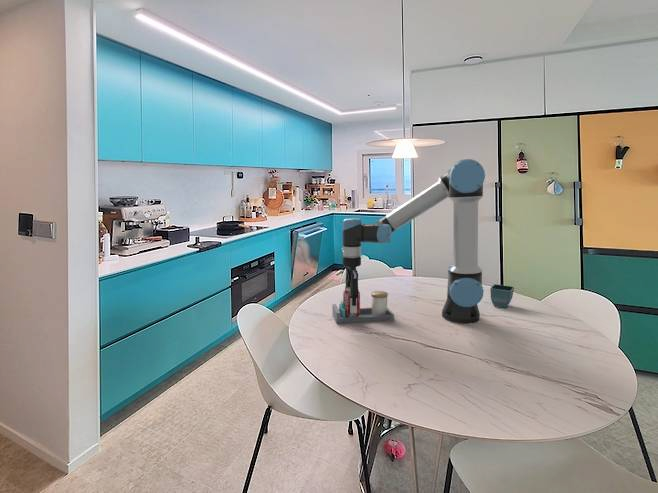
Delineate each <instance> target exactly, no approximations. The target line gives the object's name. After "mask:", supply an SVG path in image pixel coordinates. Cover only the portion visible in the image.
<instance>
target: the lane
mask: <svg viewBox="0 0 658 493" xmlns="http://www.w3.org/2000/svg"><path fill="white" fill-rule="evenodd" d="M331 309H332V310H331V311H332V316H333V318H334V321H335V324H337V325H339V324H352V323H353V324H355V323H370V322H372V323H373V322H387V321H395V314H394V313H393V312H392V311H391V310H390V308H389V307H388V306H387V315H379V316H372V307H360V315H359V316H358V317H346V316H345V318H341V317H340V311H339V306H337V303H332V308H331Z"/></svg>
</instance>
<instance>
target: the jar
mask: <svg viewBox="0 0 658 493" xmlns="http://www.w3.org/2000/svg"><path fill="white" fill-rule="evenodd" d="M388 295H389V294H388V292H386V291H384V290H376V291H373V292H371V308H372V316H379V315H387V307H388V297H389V296H388Z"/></svg>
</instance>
